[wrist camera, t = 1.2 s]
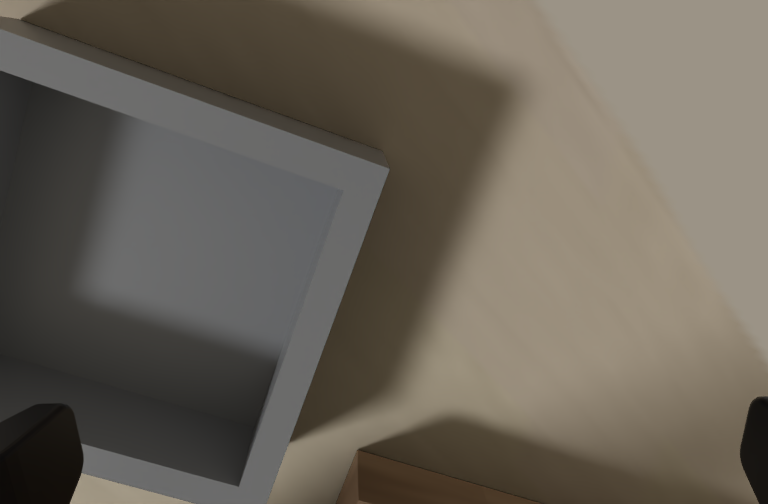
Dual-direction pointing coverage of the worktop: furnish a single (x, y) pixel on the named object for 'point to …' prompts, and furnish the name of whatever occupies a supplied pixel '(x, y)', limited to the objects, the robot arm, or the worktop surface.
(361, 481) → the socket block
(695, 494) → the worktop surface
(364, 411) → the worktop surface
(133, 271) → the bin
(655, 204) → the worktop surface
